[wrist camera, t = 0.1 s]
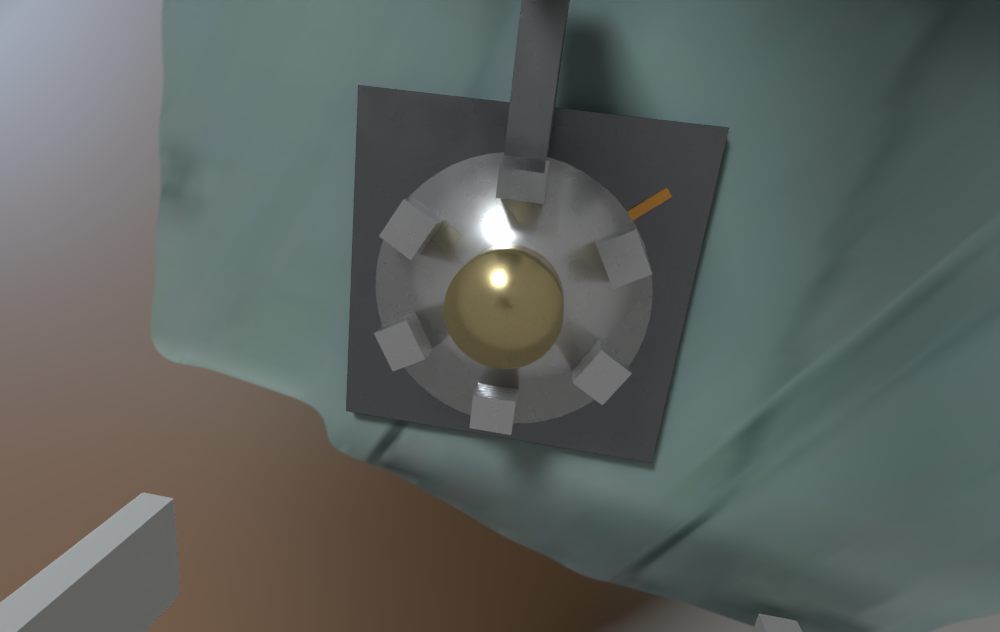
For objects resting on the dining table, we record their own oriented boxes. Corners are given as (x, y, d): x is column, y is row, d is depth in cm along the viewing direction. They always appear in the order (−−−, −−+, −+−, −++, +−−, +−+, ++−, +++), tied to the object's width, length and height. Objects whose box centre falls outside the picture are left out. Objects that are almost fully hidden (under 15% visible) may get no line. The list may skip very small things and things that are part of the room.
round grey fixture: (619, 422, 39) (660, 627, 21) (383, 383, 40) (245, 546, 23) (717, -55, 30) (919, -352, 13) (411, -81, 31) (222, -379, 14)
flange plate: (363, 87, 36) (308, 65, 28) (724, 128, 34) (770, 117, 26) (350, 405, 43) (303, 457, 35) (649, 455, 40) (668, 523, 33)
